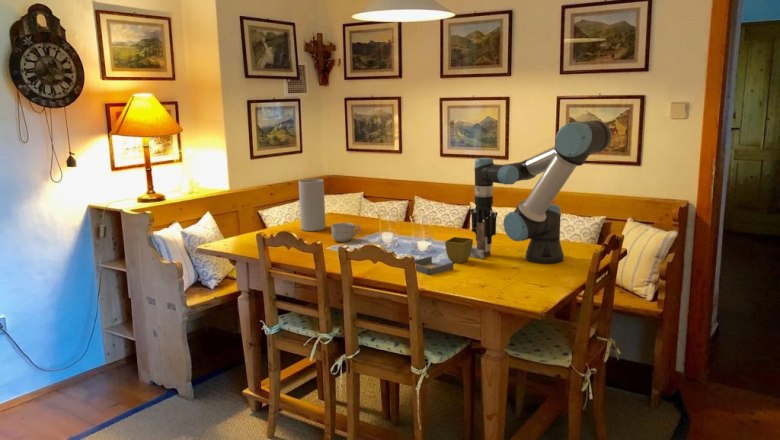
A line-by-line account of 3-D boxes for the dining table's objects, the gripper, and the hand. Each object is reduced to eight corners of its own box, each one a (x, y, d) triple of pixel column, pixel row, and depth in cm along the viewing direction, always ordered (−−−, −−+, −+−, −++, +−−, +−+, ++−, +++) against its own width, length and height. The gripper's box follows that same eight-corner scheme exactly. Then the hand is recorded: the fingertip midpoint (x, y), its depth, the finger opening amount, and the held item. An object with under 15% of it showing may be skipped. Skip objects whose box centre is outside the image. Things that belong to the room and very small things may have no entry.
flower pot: (464, 265, 257) (464, 243, 255) (444, 262, 261) (444, 241, 259) (473, 260, 264) (473, 238, 262) (454, 257, 268) (454, 236, 267)
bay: (453, 269, 251) (453, 263, 251) (429, 275, 244) (429, 269, 243) (429, 262, 262) (429, 256, 262) (406, 267, 255) (406, 261, 254)
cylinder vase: (324, 231, 323) (321, 182, 318) (299, 231, 323) (296, 182, 318) (326, 226, 335) (324, 178, 330) (303, 226, 335) (300, 179, 330)
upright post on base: (494, 256, 268) (495, 223, 266) (481, 259, 264) (482, 226, 261) (479, 252, 275) (479, 220, 273) (466, 255, 271) (466, 222, 268)
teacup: (327, 242, 300) (326, 225, 298) (338, 237, 310) (337, 221, 308) (354, 244, 295) (354, 227, 293) (364, 239, 305) (363, 222, 303)
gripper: (462, 194, 270) (463, 248, 275) (492, 199, 257) (492, 255, 261) (475, 192, 274) (475, 245, 279) (505, 196, 261) (504, 252, 266)
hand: (483, 250), depth 270 cm, fingers closed on upright post on base, 4 cm apart
